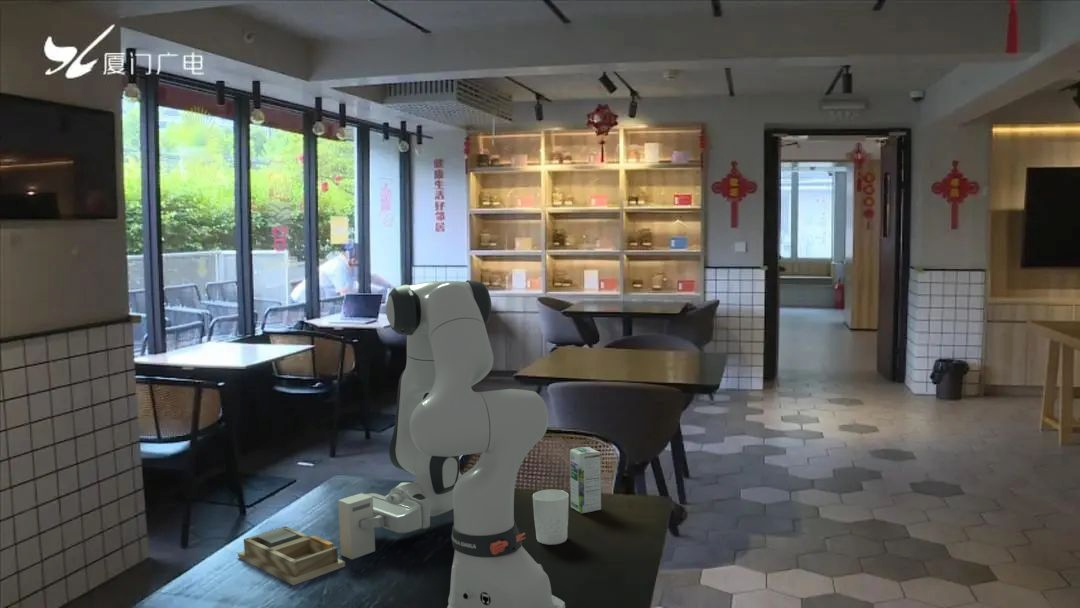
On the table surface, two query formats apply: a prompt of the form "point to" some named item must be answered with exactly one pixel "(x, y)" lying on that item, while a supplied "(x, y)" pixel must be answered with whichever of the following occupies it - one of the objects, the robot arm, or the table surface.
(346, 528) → the white carton
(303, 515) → the table surface
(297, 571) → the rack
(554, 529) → the white cup
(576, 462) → the syrup box
